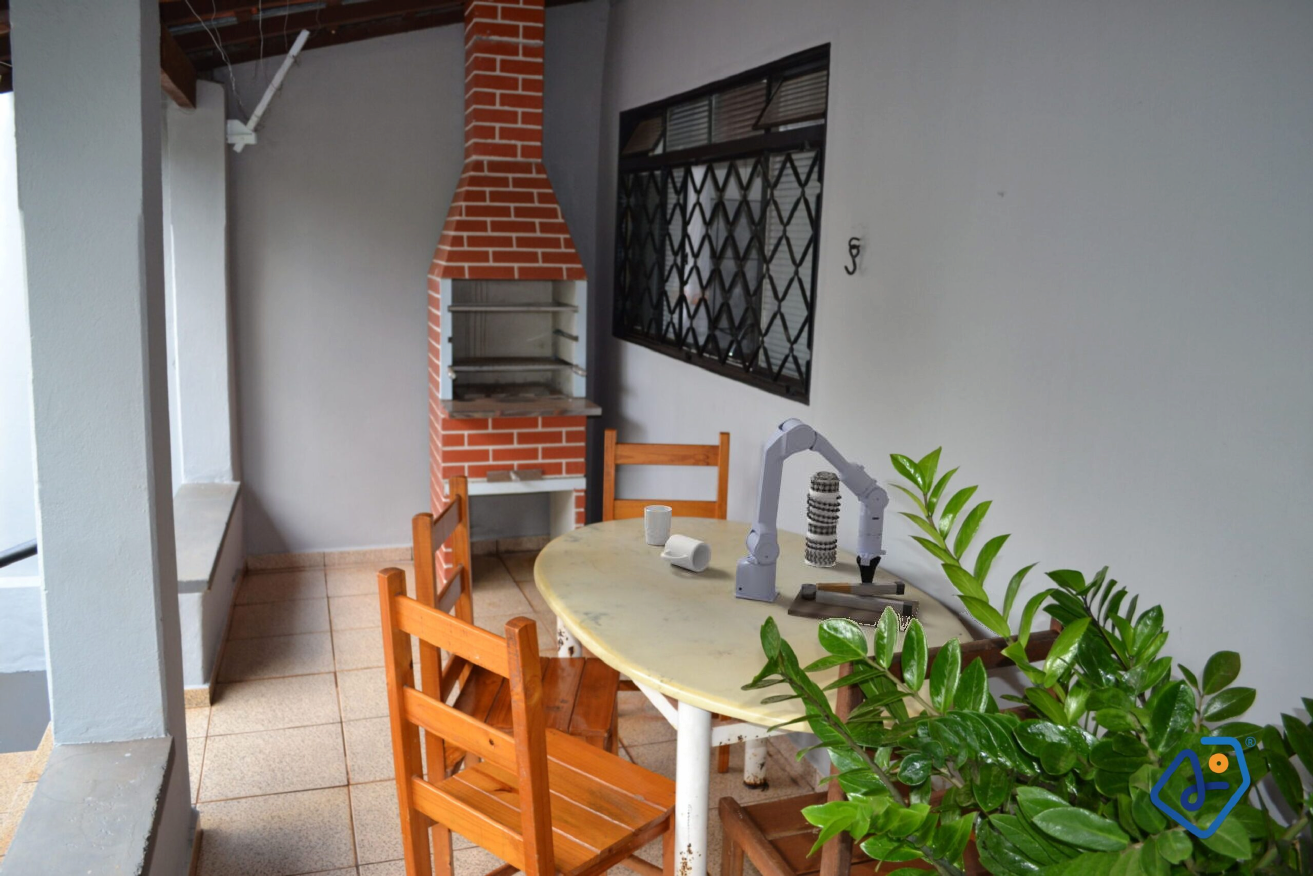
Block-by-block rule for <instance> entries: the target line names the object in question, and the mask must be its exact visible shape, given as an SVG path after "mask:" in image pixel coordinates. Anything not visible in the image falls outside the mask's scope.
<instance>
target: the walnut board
mask: <svg viewBox="0 0 1313 876" xmlns="http://www.w3.org/2000/svg"><path fill="white" fill-rule="evenodd" d="M858 596H864V597H872V598H879V599H886V600H894V601H901V602H909V603H913V608H912V615H913V616H910V619H908V624H909V622H910V620H911V619H912V618H915V619H916V618H917V614H916V612H917V613H918V611H917V608H918V609H919V607H918V605H919V604H920V601H918V600H910V599H902V598H895V597H888V596H883V595H858ZM882 613H883V612H879V611H872V610H865V609H858V608H851V607H844V606H837V605H830V604H823V603H816V599H813V600H806V599H803V598H801V589H800V590H799V592H798V593H797V595H796V596H795V598H794V599H793V601H792V602H791V604H790V606H789V607H788V608H787V615H790V616H798V617H805V618H812V619H817V620H825V621H827V620H826V619H829V618H846V619H850V620H853V621H855V622H857V623H858V624H859V623H862V624H863V625H862V626H864V624H870V625H874V624H875V622H876V625H875V627H874V628H878V627H877V624H878V621H879V619H880V618H881V615H882ZM915 615H916V616H915ZM897 616H898V621H899V632H901V631H900V620H899V615H898V614H897ZM902 616H903V617H902ZM849 617H850V618H849ZM908 617H909V616H907V617H906V615H900V618H901V626H902V625H903V623H904V626H903V627H905V624H906V622H907V618H908ZM822 618H823V619H822ZM902 618H903V621H902ZM859 626H861V625H860V624H859ZM907 626H908V625H907ZM907 626H906V628H907ZM906 628H905V629H904V631H903V632H905V630H906Z"/></svg>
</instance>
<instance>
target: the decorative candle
mask: <svg viewBox="0 0 1313 876" xmlns="http://www.w3.org/2000/svg"><path fill="white" fill-rule="evenodd" d="M812 475H813V476H811V477H810V478H809V479H810V488H809V492H808V493H807V494H806V497H807V499H806V504H807V506H806V511H807V512H806V517H807V518H806V521H807V523H808V524H807V525H808V527H807V532H806V536H805V541H806V542H805V544H804V545H805V549H804V553H805V554H804V561H805V562H804V564H805V563H806V564H805V565H807V564H809V565H812V566H818V567H826V566H832V565H833V564H834V562H836V561H837V553H838V552H837V550H836V549H837V547H838V545H837V543H838V539H837V535H838V534H837V529H838V528H837V525H838V524H839V519H840V516H839V515H838V513H839V512H841V509H840V508H839V507H840V506H841V502H840V501H838V500H840V499H842V495H840V482H841V481H840V480H839V476H838V474H836V473H835V472H832V471H826V470H825V471H823V470H822V471H817V472H815V473H814V474H812ZM809 565H808V566H809ZM812 566H811V567H812Z"/></svg>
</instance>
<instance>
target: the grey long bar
mask: <svg viewBox="0 0 1313 876" xmlns="http://www.w3.org/2000/svg"><path fill="white" fill-rule="evenodd" d="M816 603H823V604H830V605H837V606H844V607H851V608H858V609H865V610H872V611H879V612H884V610H885V608H886V607H887V606H891V607H892V608H893V610H894V611H895V613H896V614H898V613H899V614H900V615H906V616H912V608H913V603H909V602H901V601H894V600H886V599H879V598H872V597H864V596H857V595H850V594H843V593H835V592H828V591H821V590H818V591H817V592H816Z"/></svg>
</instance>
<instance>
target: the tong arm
mask: <svg viewBox="0 0 1313 876" xmlns="http://www.w3.org/2000/svg"><path fill="white" fill-rule="evenodd" d="M905 589H906V584H905V583H904V582H903V581H891V582H890V581H889V582H887V581H886V582H872V583H862V582H852V583H851V582H850V583H849V582H825V583H824V582H821V583H820V582H819V583H815V584H813V583H802V584H801V585H800V590H801V598H803V599H806V600H813V599H816V592H817V591H818V590H821V591H828V592H835V593H843V594H850V595H857V596H858V595H875V596H885V595H886V596H889V595H890V596H891V595H893V596H895V595H896V596H904V595H905Z"/></svg>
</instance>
